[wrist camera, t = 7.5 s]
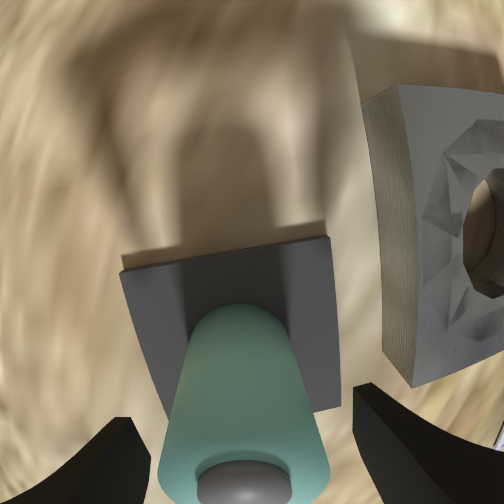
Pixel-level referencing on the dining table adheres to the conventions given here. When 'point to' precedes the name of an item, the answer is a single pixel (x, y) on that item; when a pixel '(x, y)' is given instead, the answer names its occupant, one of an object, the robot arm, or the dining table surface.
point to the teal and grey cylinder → (242, 417)
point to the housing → (436, 225)
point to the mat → (241, 292)
